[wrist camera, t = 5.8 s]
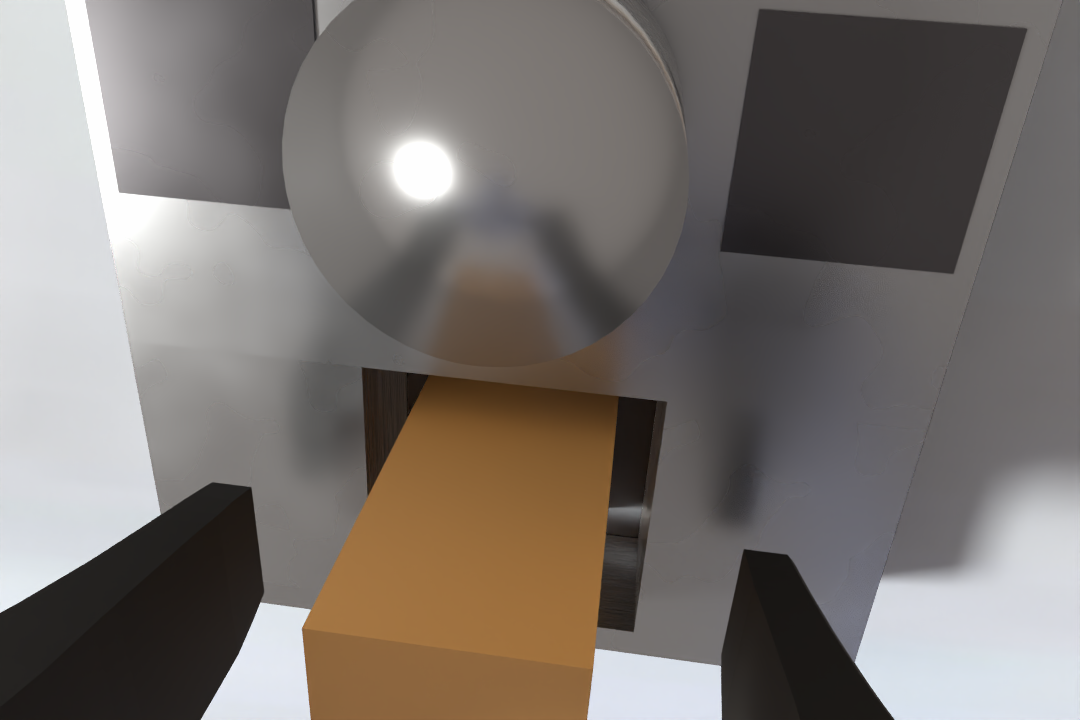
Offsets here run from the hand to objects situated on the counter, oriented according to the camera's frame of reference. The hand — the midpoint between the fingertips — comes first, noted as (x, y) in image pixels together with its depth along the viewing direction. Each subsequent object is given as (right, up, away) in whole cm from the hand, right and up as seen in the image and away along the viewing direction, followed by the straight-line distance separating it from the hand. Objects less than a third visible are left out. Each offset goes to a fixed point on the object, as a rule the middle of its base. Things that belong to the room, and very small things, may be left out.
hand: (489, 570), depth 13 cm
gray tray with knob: (+1, +5, +2) cm, 5 cm away
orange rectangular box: (0, +2, +4) cm, 4 cm away
